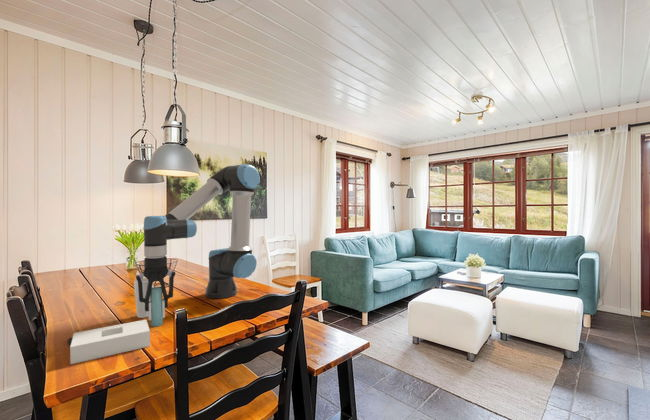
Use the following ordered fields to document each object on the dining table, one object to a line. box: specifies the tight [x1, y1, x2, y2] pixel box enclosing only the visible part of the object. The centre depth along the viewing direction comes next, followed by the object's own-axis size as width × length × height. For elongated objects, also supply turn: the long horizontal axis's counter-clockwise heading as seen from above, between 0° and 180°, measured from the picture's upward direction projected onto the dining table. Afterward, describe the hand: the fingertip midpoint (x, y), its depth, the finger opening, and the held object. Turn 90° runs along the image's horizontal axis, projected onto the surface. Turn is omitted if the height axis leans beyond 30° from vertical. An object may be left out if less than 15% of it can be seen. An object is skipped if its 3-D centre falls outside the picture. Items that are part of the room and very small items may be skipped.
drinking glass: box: [133, 277, 154, 319], centre depth 128 cm, size 7×7×15 cm
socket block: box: [69, 319, 151, 365], centre depth 100 cm, size 20×12×5 cm, turn 125°
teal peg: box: [150, 286, 164, 328], centre depth 119 cm, size 4×4×14 cm
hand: (156, 317), depth 119 cm, fingers closed on teal peg, 4 cm apart
